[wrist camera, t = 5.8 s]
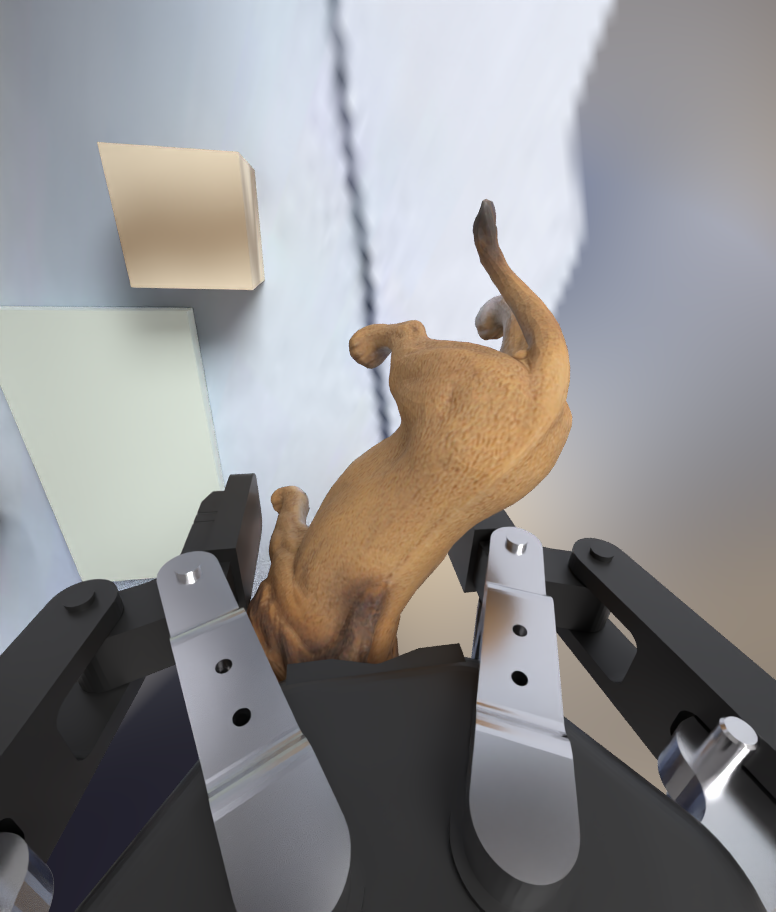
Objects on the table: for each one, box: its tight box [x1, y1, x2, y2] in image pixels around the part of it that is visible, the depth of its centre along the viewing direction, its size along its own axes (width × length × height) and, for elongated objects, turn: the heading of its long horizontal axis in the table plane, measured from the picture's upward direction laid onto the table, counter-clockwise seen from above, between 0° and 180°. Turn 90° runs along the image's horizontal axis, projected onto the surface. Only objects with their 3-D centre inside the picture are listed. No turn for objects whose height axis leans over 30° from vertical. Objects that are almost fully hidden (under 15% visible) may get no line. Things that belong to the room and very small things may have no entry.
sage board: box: [0, 306, 225, 582], centre depth 26 cm, size 18×10×1 cm, turn 179°
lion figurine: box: [247, 199, 572, 682], centre depth 10 cm, size 15×5×9 cm, turn 157°
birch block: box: [97, 142, 265, 290], centre depth 19 cm, size 5×5×5 cm
